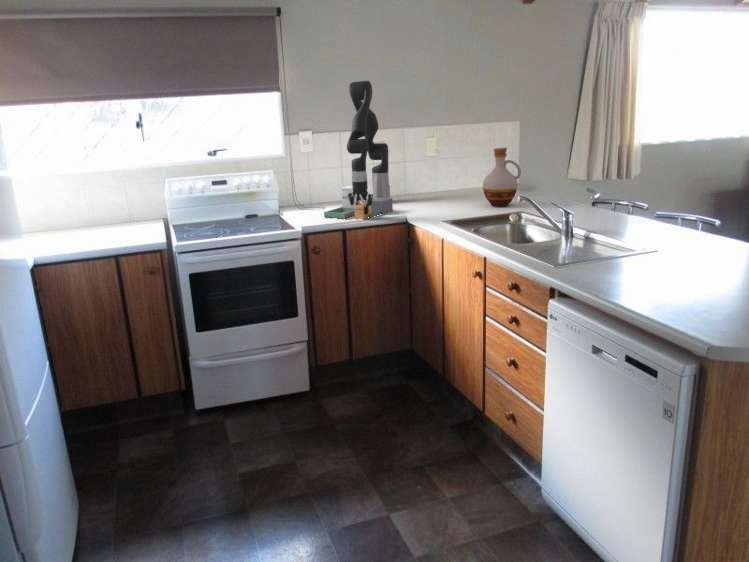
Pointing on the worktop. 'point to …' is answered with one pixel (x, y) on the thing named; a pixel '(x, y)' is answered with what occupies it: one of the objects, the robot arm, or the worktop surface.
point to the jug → (500, 181)
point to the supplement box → (345, 197)
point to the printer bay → (381, 206)
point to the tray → (340, 213)
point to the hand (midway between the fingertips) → (361, 213)
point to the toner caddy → (361, 211)
